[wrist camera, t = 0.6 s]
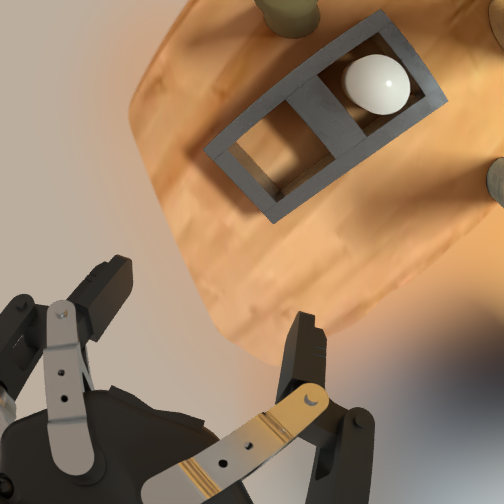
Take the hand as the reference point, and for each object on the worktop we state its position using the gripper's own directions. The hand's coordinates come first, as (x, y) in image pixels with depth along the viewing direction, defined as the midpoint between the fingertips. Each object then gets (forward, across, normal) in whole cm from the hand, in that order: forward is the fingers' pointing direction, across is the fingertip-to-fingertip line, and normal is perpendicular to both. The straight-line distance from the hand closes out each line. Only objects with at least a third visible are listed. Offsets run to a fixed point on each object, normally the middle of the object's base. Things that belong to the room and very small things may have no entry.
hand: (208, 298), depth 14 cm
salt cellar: (+25, -8, -11) cm, 28 cm away
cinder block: (+25, -4, -6) cm, 26 cm away
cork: (+25, +2, -17) cm, 30 cm away
